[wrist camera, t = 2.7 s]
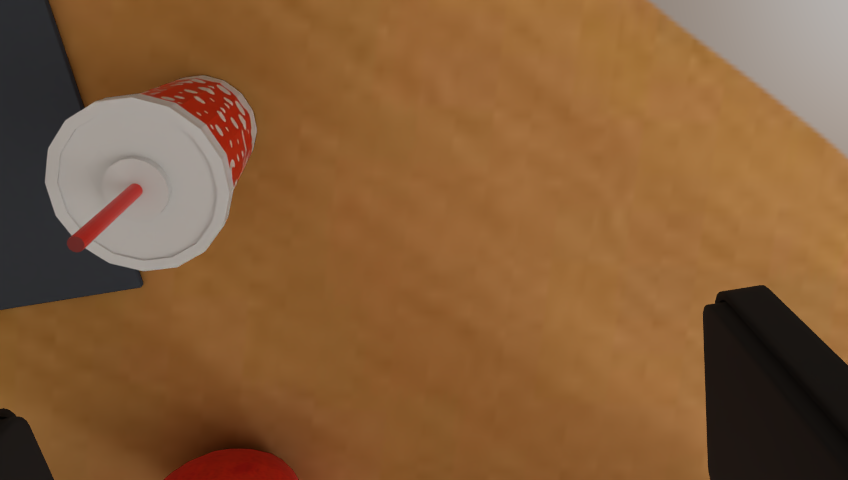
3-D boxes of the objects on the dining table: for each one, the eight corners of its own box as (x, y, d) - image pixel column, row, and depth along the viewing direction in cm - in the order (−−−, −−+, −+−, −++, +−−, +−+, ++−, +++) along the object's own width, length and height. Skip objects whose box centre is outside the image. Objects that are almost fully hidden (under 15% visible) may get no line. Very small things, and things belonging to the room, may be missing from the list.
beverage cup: (208, 217, 35) (90, 380, 22) (106, 120, 33) (-88, 234, 20) (302, 133, 34) (235, 254, 21) (201, 26, 32) (58, 85, 19)
